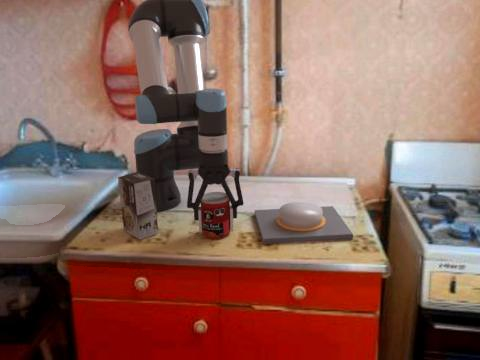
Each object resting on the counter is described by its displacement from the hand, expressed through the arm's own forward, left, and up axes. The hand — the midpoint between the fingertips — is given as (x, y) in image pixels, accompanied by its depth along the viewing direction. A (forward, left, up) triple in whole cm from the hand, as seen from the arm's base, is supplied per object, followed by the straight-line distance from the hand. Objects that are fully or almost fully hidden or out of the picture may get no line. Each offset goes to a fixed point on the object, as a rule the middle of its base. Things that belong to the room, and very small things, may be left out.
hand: (216, 229), depth 133 cm
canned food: (0, 0, -1) cm, 1 cm away
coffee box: (-4, -21, -2) cm, 21 cm away
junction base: (-2, +24, -1) cm, 24 cm away
